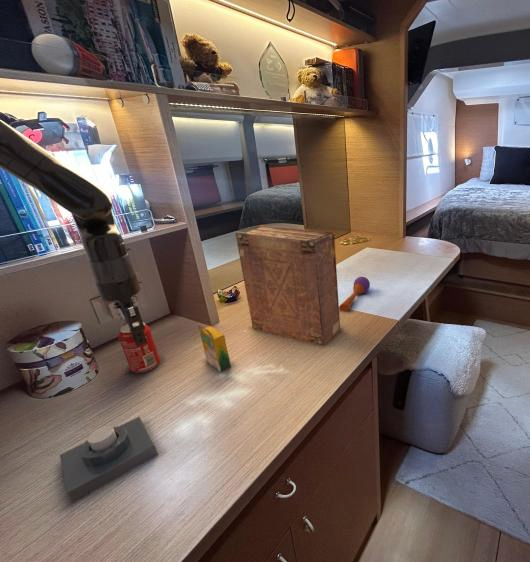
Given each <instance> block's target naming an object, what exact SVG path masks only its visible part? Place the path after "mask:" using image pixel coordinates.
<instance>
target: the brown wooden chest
mask: <svg viewBox="0 0 530 562" xmlns="http://www.w3.org/2000/svg"><path fill="white" fill-rule="evenodd" d="M257 227H258V228H256V229H252V230H248V231H245V232H240V231H237V232H236V231H235V238H236V244H237V249H238V255H239V261H240V267H241V271H242V276H243V277H242V278H243V283H244V288H245V294H246V299H247V304H248V310H249V316H250V320H251V321H250V322H251V327H252V329H256V330H260V331H263V332H268V333H271V334H275V335H279V336H283V337H287V338H292V339H295V340H299V341H303V342H307V343H311V344H315V345H320V346H322V347H324V346H325V345H326V344H327V343H328V342H329V341H330V340H331V339H332V338H333V337H334V336H335V335H336V334H338V333H339V332H340V330H341V321H340V319H341V318H340V308H339V307H340V304H339V289H338V288H339V287H338V273H337V272H338V270H337V257H336V256H337V255H336V253H337V252H336V239H335V233H334V232H331V231H321V230H312V229H303V228H293V227H283V226H273V225H264V224H259V225H258V226H257Z"/></svg>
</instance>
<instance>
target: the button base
mask: <svg viewBox="0 0 530 562" xmlns="http://www.w3.org/2000/svg"><path fill="white" fill-rule="evenodd" d="M112 427H113V428H114V431H115V433H116V436H117V440H116V442H115V443H114V444H112V445H111V446H110V447H108V448H106V449H104V450H101V451H97V452H94V451H92V449H91V447H90V445H89V443H88V439H86V440H85V441H84V442H83V443H81V444H79V445H76V446H75V447H73V448H71V449H68V450H66V451H64V452H62V453H61V454H59V459H60V464H61V469H62V474H63V478H64V483H65V489H66V493H67V495H68V497H69V499H70V501H71V502H72V503H75V502H77V501H78V500H80V499H82V498H84V497H87V495H90V494H91V493H93V492H94V491H96V490H98V489H100V488H102V487H104V486H106V485H107V484H109V483H110V482H113V481H114V480H116V479H118V478H119V477H122V476H123V475H125V474H127V473H128V472H130V471H131V470H133V469H136V468H137V467H139V466H141V465H143V464H144V463H146V462H148V461H150V460H151V459H153V458H155V457H156V456H159V452H158V450H157V448H156V445H155V443H154V441H153V439H152V437H151V435H150V433H149V431H148V430H147V428H146V425H145V424H144V422H143V421H142V419H141V417H140V416H137V417H135V418H133V419H131V420H129V421H127V422H124V423H123V424H120V425H119V426H117V425H116V426H112Z"/></svg>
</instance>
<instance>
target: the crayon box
mask: <svg viewBox="0 0 530 562" xmlns="http://www.w3.org/2000/svg"><path fill="white" fill-rule="evenodd" d="M197 326H198V331H199V334H200V335H199V336H200V339H201V343H202V346H203V352H204V355H205V359H206V362H207V363H208V364H209V365H211V366H212V367H213V368H214V369H216V370H217V371H218V372H220V373H222V372H223V371H225V370H228V369H229V368H231V367H232V365H231V360H230V356H229V352H228V346H227V342H226V336H225V334H224V333H222V332H220V331H219V330H217V329H216V328H214V327H213V326H211V325H209V326H207V327H204V326H203V325H201V324H199V323H197Z"/></svg>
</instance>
